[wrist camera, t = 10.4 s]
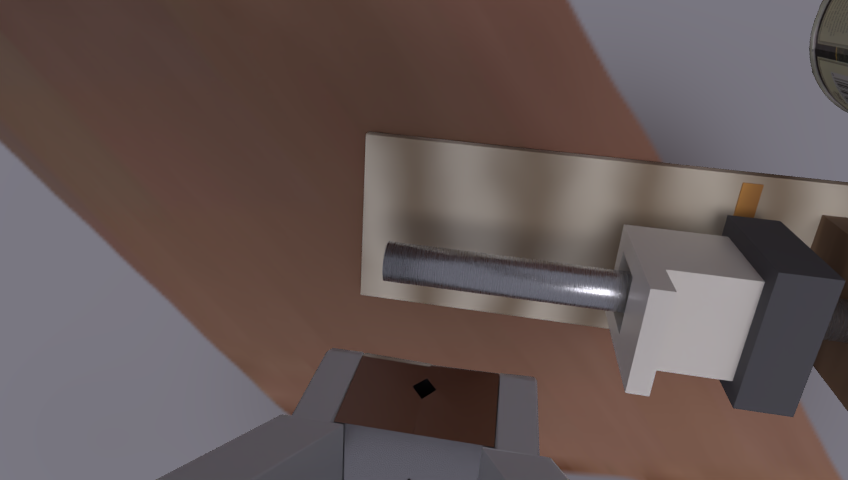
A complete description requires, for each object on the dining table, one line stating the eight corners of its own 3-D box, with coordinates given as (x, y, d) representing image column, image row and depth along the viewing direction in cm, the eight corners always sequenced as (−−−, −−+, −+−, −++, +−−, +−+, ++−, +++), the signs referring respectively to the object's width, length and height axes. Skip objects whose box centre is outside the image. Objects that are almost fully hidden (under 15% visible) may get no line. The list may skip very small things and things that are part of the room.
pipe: (390, 271, 38) (381, 290, 36) (392, 233, 37) (383, 249, 35) (830, 329, 35) (852, 353, 33) (845, 289, 34) (869, 312, 32)
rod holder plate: (363, 289, 45) (317, 375, 35) (368, 131, 41) (317, 178, 31) (862, 357, 42) (969, 475, 31) (931, 191, 37) (1085, 267, 27)
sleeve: (604, 311, 39) (625, 392, 31) (623, 224, 36) (650, 288, 29) (702, 324, 38) (748, 410, 30) (728, 236, 36) (784, 306, 28)
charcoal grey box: (694, 330, 39) (733, 408, 32) (727, 215, 36) (778, 272, 29) (742, 336, 39) (793, 417, 32) (780, 221, 36) (845, 280, 29)
